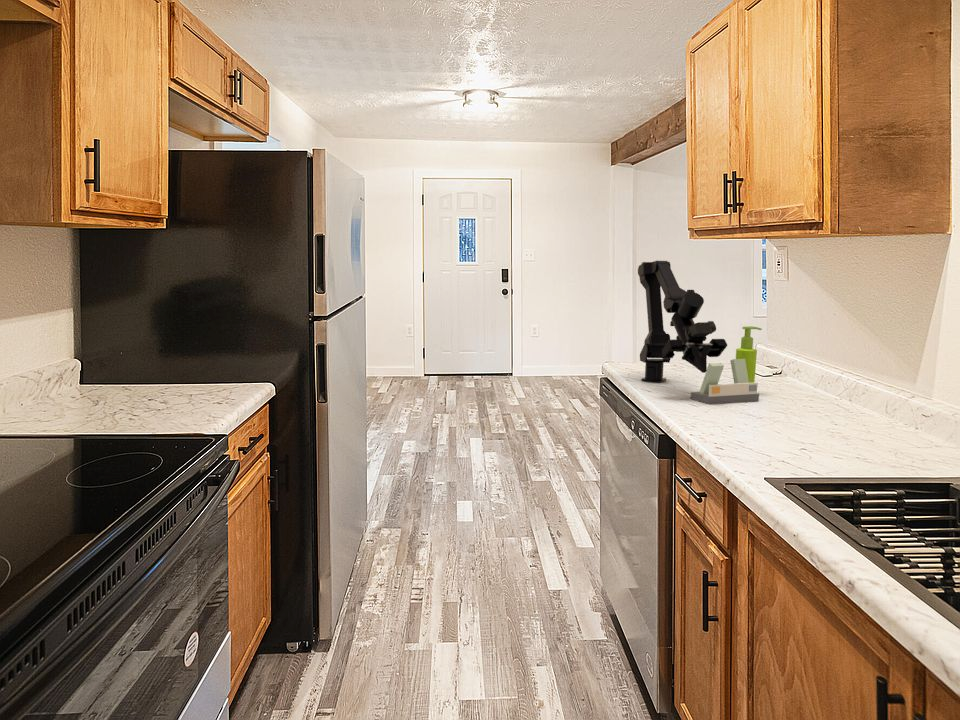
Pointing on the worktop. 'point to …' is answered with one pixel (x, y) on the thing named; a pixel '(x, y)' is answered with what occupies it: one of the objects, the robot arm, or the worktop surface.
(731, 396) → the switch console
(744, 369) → the hold switch
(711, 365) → the flip switch
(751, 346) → the soap dispenser
